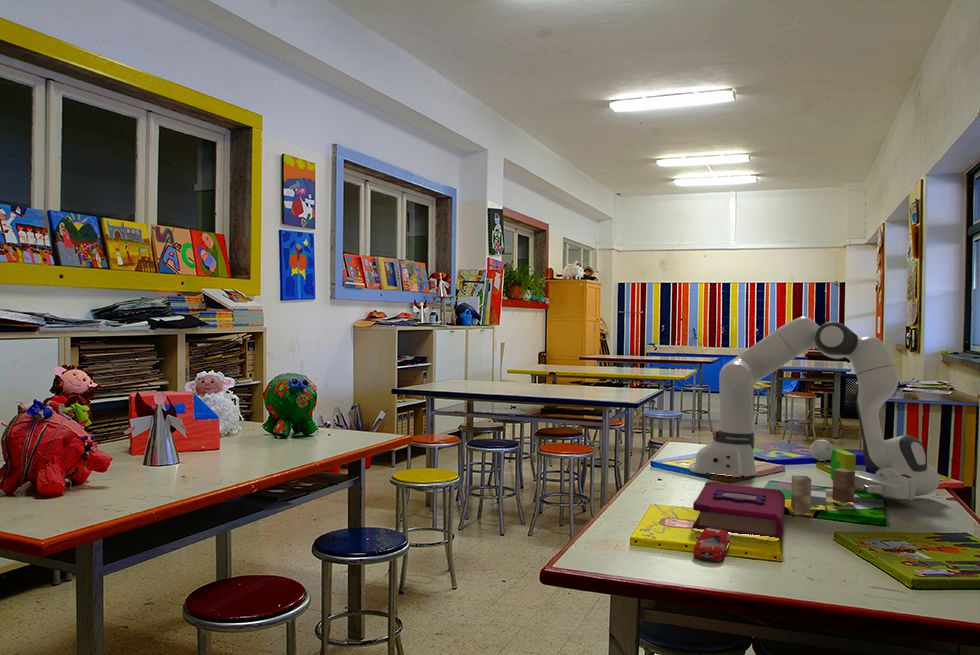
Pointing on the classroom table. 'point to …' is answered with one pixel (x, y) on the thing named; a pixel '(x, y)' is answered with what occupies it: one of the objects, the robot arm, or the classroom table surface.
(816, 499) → the slate block
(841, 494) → the walnut block
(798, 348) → the robot arm
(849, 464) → the puzzle toy
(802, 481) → the maple block
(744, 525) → the book
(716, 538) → the race car
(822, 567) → the classroom table surface
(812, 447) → the grey rounded lump
